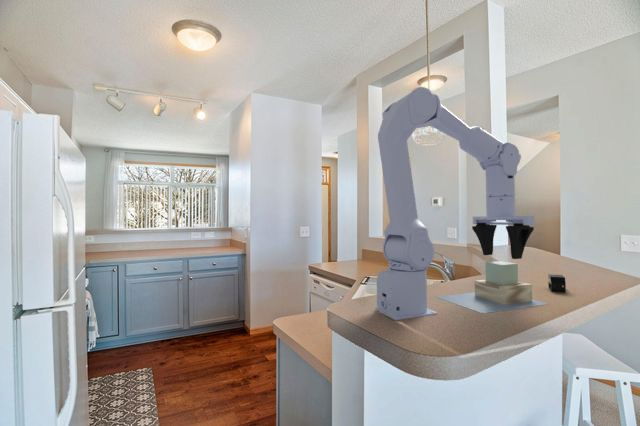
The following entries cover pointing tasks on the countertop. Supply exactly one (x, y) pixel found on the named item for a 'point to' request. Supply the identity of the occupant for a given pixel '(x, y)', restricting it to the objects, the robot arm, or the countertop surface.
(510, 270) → the green brick
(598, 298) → the countertop surface
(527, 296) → the base brick
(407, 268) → the robot arm
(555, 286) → the black box
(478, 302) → the mat
